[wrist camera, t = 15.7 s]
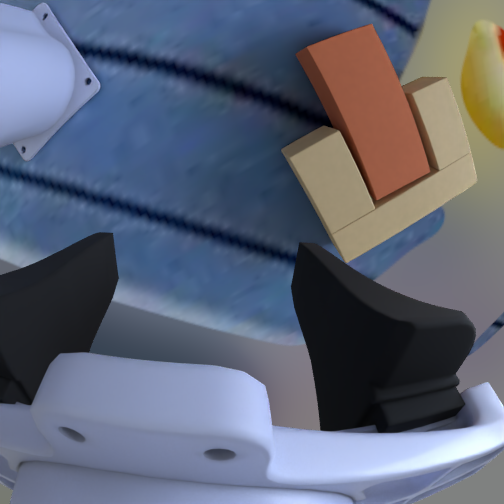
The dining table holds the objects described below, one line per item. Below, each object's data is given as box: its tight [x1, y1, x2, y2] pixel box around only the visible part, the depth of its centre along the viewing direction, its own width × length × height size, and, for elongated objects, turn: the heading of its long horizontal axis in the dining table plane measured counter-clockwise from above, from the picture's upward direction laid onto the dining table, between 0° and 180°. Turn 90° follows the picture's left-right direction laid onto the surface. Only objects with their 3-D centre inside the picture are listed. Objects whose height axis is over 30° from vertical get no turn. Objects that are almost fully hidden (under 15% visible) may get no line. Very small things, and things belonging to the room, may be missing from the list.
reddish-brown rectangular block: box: [295, 24, 430, 200], centre depth 17 cm, size 10×4×3 cm, turn 29°
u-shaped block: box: [281, 77, 477, 263], centre depth 18 cm, size 8×12×3 cm, turn 121°
